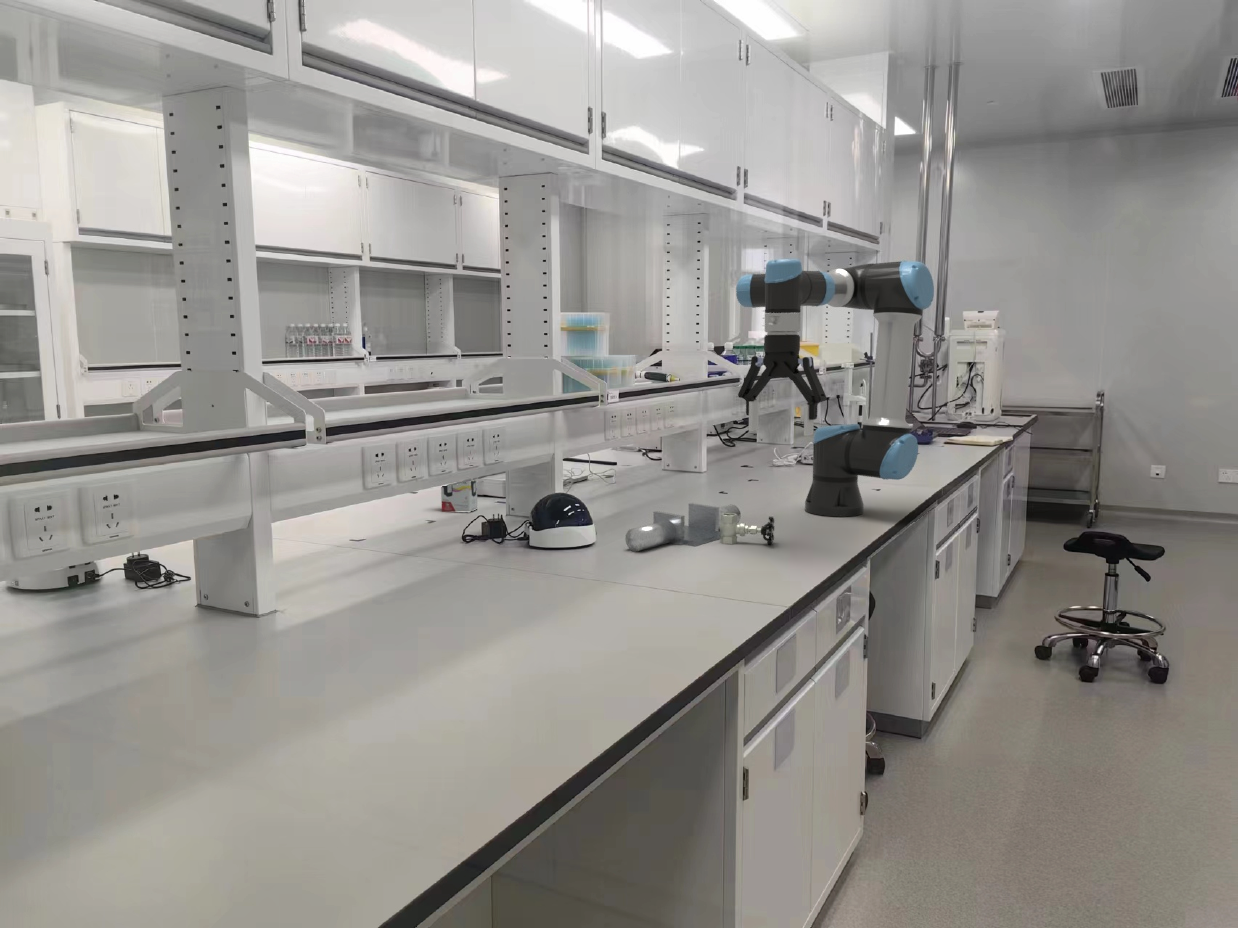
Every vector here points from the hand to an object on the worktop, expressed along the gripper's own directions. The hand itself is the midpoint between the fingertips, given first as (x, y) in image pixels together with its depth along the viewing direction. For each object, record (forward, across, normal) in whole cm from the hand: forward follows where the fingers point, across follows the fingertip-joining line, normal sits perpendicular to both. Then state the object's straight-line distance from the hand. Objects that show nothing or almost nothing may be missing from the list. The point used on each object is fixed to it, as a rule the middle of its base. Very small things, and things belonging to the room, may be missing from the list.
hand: (780, 432), depth 191 cm
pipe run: (+25, -22, -5) cm, 34 cm away
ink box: (+25, -86, -19) cm, 92 cm away
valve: (+26, -8, -1) cm, 27 cm away
